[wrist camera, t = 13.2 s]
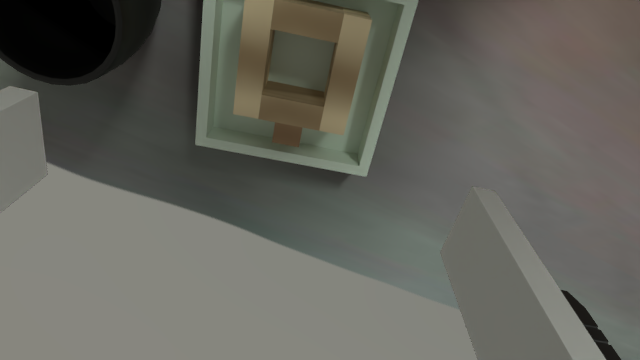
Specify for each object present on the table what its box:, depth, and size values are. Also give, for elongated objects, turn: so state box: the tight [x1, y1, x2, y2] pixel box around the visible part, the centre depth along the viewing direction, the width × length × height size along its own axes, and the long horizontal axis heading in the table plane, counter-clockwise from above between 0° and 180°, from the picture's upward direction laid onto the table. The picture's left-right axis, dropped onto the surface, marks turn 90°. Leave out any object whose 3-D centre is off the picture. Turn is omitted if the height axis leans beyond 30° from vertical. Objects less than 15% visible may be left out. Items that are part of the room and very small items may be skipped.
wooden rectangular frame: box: [233, 0, 372, 147], centre depth 29 cm, size 10×8×4 cm
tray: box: [195, 0, 419, 177], centre depth 30 cm, size 14×14×3 cm
